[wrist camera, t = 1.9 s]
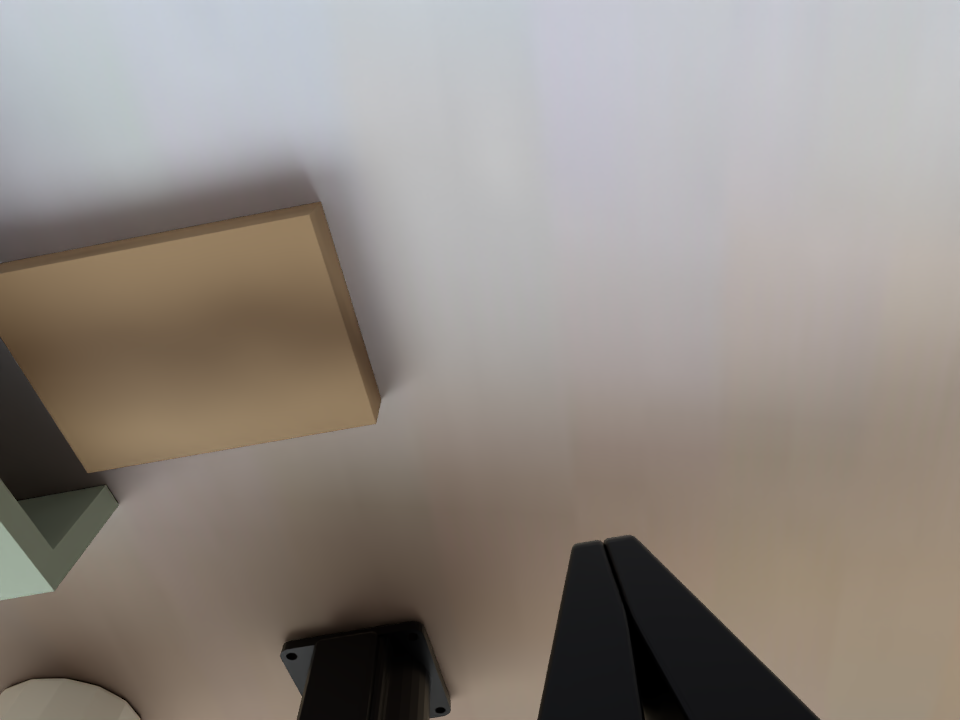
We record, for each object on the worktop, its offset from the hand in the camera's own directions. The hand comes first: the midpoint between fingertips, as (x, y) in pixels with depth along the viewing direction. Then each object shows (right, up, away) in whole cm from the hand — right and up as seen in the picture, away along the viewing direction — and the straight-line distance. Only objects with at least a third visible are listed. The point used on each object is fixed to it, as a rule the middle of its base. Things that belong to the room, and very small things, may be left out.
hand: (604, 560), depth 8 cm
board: (-11, +4, +11) cm, 16 cm away
